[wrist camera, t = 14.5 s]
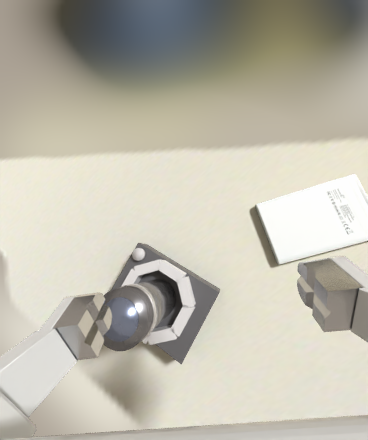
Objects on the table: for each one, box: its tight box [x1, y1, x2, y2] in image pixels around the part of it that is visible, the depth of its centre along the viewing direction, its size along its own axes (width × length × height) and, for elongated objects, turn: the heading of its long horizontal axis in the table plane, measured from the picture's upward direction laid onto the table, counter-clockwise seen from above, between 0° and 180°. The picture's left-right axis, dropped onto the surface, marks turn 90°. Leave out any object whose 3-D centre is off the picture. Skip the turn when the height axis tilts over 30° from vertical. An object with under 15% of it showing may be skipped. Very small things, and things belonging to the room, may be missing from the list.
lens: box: [103, 279, 176, 351], centre depth 20 cm, size 5×5×9 cm
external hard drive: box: [255, 174, 368, 264], centre depth 25 cm, size 2×8×12 cm
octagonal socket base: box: [111, 243, 220, 364], centre depth 25 cm, size 12×9×4 cm
